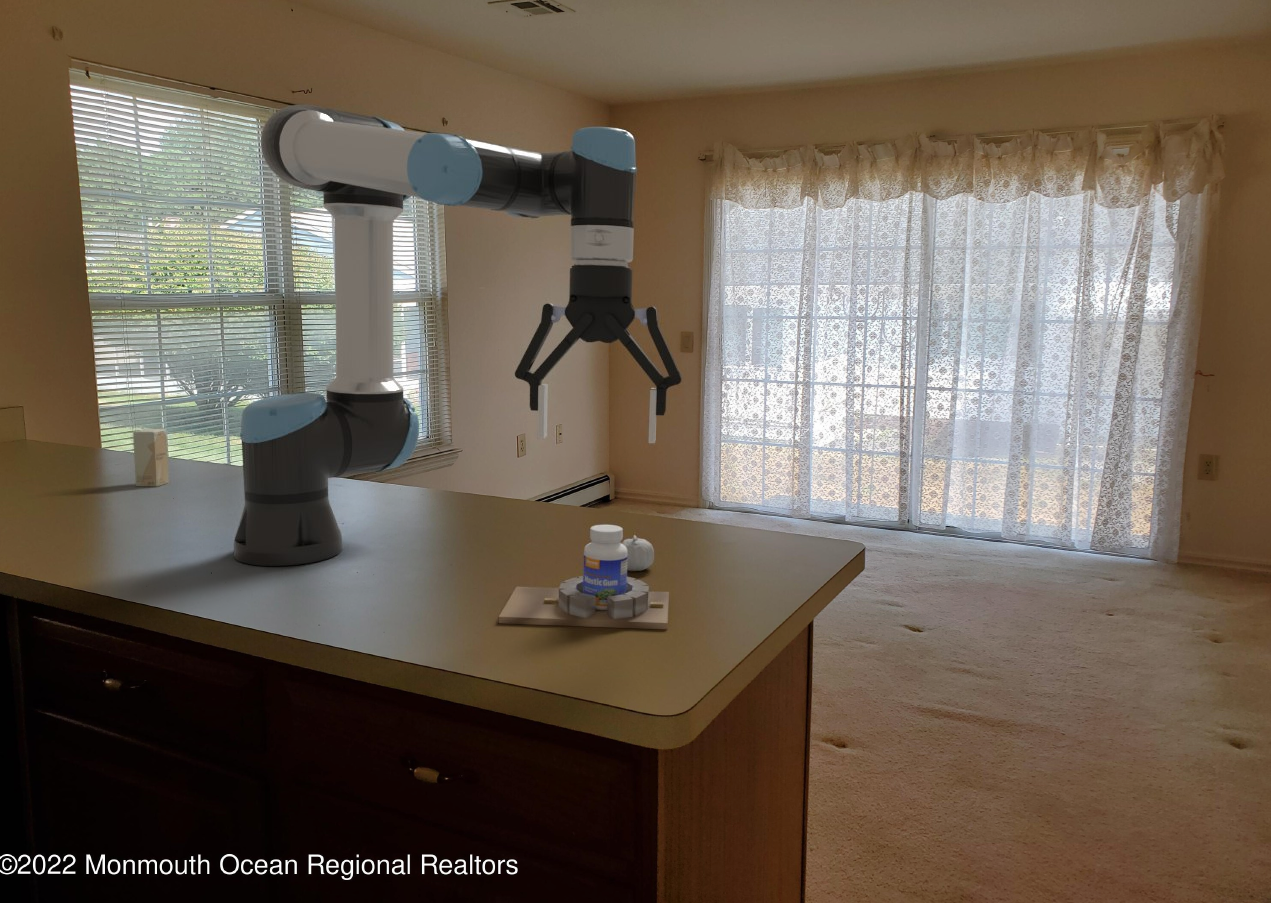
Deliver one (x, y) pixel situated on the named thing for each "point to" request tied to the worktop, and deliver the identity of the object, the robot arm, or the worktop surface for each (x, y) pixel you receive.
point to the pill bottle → (605, 564)
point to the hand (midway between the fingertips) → (597, 439)
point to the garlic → (638, 554)
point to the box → (150, 457)
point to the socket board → (555, 616)
